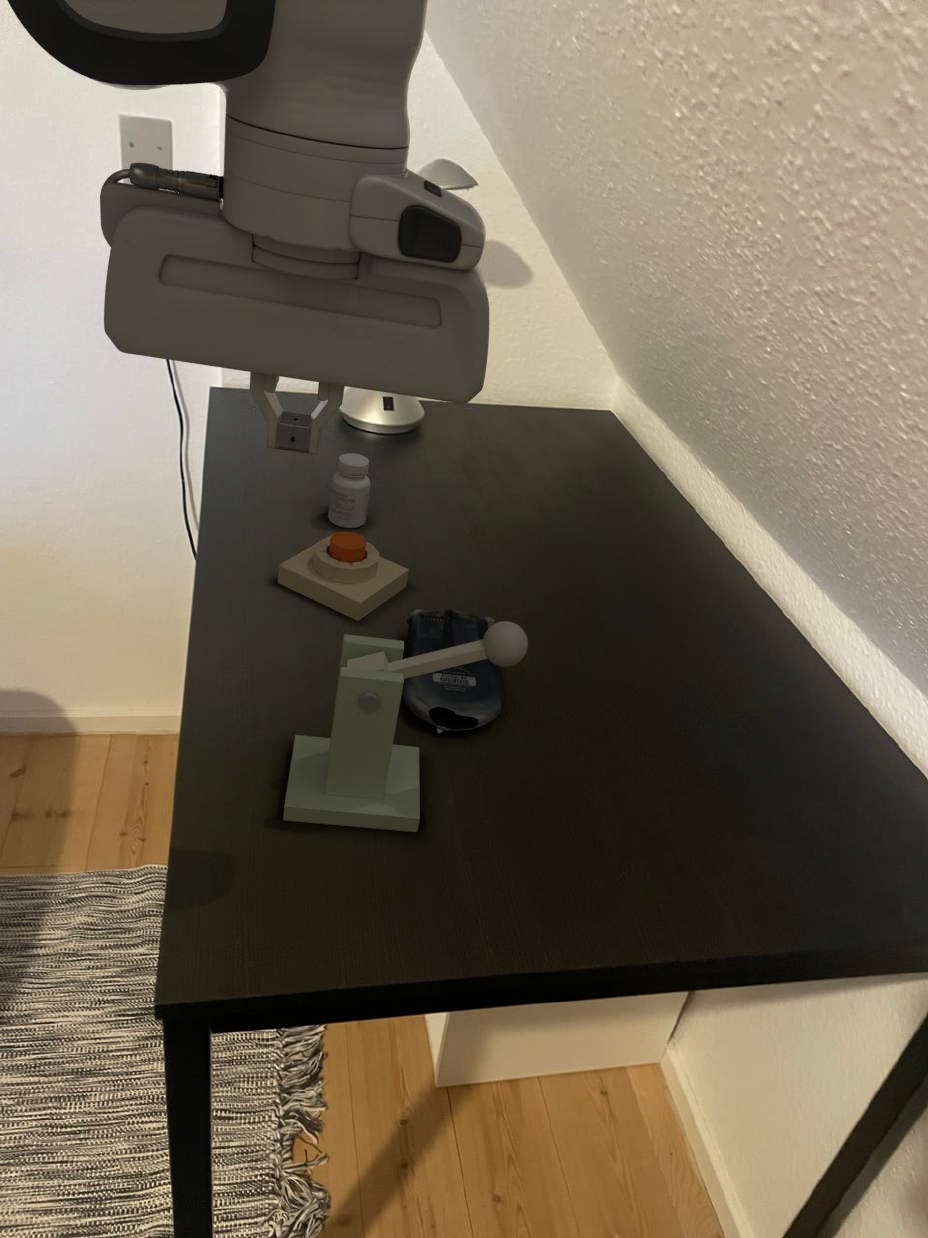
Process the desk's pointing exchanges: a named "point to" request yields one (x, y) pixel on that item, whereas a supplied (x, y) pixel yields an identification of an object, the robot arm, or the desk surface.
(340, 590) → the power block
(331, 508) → the pill bottle
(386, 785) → the switch base
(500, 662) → the switch lever
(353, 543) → the power button
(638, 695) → the desk surface
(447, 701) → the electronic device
